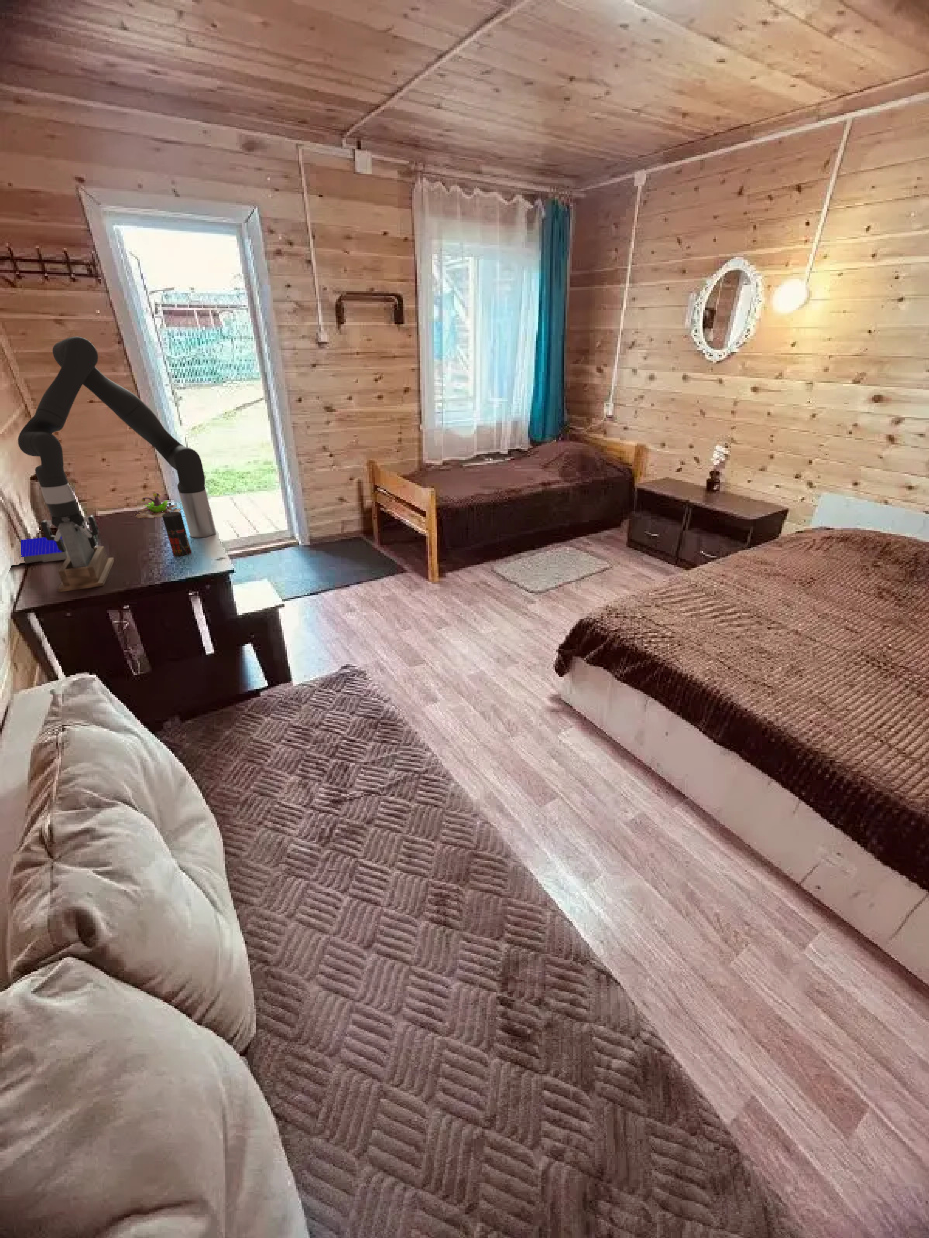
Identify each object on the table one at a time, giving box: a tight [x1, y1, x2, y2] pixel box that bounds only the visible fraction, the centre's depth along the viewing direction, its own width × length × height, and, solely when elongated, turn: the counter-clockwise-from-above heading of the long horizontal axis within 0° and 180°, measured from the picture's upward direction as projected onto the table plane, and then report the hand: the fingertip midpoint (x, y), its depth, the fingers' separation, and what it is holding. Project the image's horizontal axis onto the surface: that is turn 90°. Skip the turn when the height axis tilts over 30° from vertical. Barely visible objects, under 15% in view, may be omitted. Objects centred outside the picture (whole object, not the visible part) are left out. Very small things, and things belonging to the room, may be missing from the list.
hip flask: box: [57, 516, 95, 568], centre depth 167 cm, size 16×4×20 cm, turn 21°
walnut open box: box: [57, 545, 115, 593], centre depth 171 cm, size 12×24×6 cm, turn 24°
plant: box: [135, 491, 182, 520], centre depth 229 cm, size 20×20×11 cm
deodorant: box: [161, 511, 192, 558], centre depth 185 cm, size 6×6×15 cm
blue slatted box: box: [20, 536, 69, 564], centre depth 185 cm, size 22×14×7 cm, turn 112°
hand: (78, 549), depth 168 cm, fingers open, 7 cm apart
